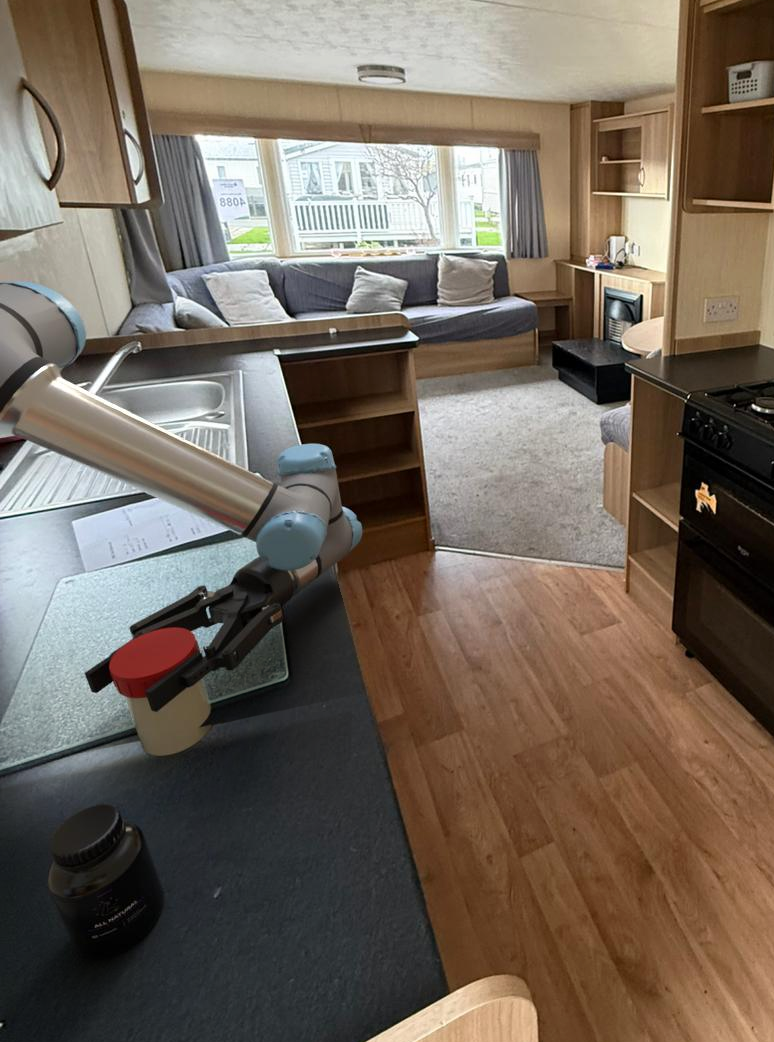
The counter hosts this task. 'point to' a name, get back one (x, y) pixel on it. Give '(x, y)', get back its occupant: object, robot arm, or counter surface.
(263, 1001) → the counter surface
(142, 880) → the supplement bottle
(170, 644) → the lid
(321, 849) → the counter surface
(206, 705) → the jar
